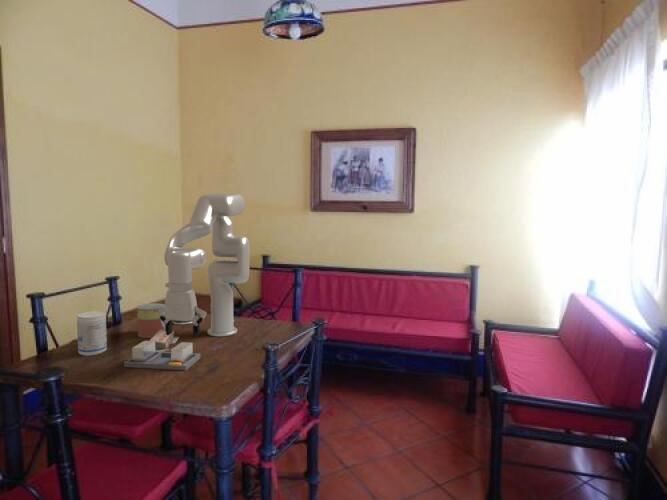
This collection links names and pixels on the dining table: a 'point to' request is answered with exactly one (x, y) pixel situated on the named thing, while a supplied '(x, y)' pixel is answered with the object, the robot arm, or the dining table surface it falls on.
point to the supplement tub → (91, 333)
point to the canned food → (149, 319)
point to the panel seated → (143, 351)
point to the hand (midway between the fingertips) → (182, 334)
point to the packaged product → (163, 340)
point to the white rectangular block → (182, 353)
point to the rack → (162, 362)
